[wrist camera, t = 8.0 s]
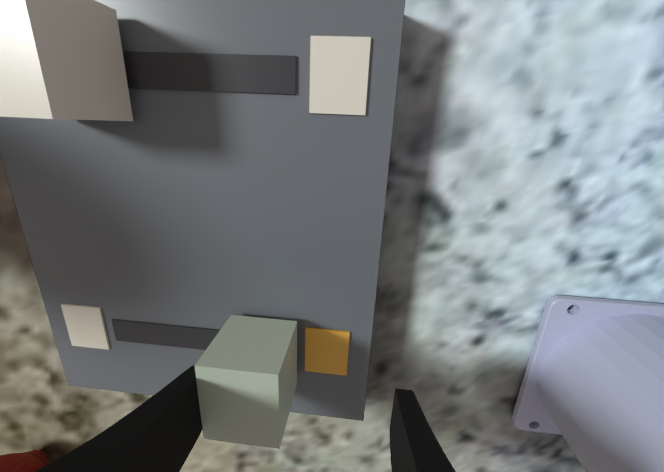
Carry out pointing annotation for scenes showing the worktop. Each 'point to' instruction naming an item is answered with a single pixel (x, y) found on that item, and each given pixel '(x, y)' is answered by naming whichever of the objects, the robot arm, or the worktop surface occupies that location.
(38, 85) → the slider cream
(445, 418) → the worktop surface
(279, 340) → the slider sage
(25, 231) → the switch panel
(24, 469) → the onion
